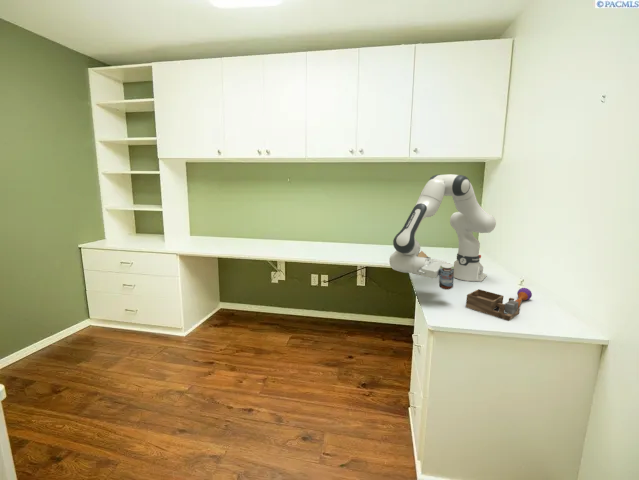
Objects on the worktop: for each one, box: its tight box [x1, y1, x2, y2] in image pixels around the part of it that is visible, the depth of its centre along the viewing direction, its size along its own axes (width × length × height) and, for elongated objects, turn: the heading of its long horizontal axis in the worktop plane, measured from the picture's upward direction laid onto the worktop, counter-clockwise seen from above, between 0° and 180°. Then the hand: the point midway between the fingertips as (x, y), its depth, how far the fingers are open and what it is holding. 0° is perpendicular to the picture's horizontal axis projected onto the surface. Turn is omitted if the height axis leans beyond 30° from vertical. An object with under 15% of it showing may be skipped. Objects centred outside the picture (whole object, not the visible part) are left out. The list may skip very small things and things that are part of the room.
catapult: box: [465, 289, 521, 322], centre depth 141 cm, size 12×18×6 cm, turn 41°
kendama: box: [515, 287, 533, 309], centre depth 150 cm, size 6×6×20 cm
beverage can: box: [438, 262, 455, 291], centre depth 145 cm, size 6×7×12 cm
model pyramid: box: [418, 250, 429, 257], centre depth 216 cm, size 17×17×10 cm
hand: (452, 271), depth 146 cm, fingers closed on beverage can
